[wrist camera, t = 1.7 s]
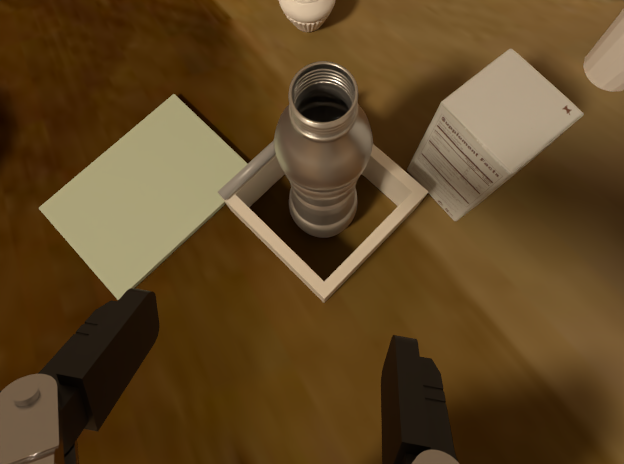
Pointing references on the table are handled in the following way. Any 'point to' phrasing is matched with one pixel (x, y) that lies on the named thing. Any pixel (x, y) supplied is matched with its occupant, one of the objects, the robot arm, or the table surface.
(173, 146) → the mat
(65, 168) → the table surface
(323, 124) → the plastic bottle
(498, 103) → the supplement box
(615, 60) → the shot glass
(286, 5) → the muffin
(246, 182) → the sleeve
